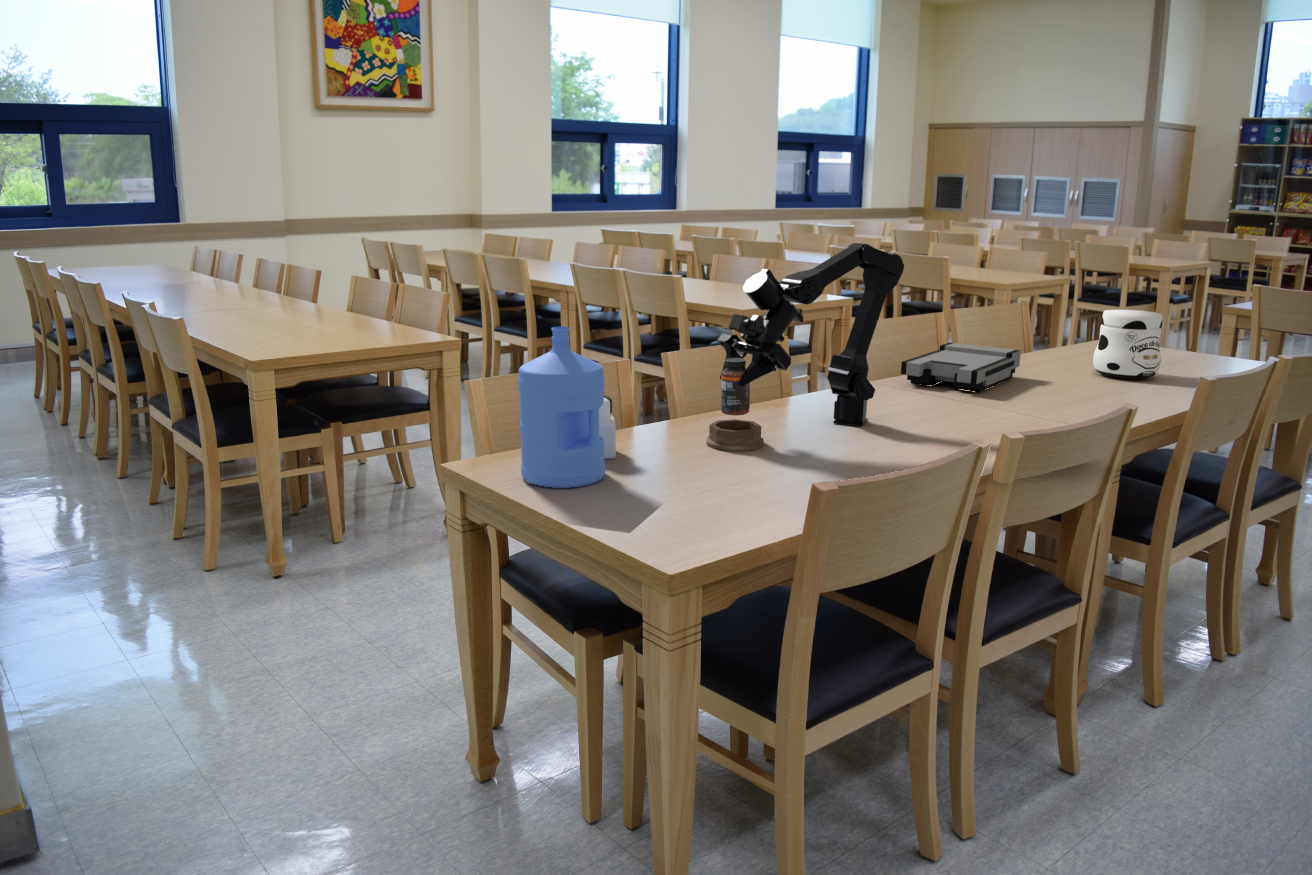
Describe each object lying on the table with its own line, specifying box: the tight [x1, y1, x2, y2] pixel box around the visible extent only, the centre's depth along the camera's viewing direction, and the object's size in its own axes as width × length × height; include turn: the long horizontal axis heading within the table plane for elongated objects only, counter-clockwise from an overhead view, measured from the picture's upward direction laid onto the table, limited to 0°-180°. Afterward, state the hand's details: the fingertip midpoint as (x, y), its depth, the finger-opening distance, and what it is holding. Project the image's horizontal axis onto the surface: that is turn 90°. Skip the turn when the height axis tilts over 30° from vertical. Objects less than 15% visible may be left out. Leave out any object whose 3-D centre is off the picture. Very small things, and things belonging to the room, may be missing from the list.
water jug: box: [517, 326, 606, 489], centre depth 178 cm, size 16×16×28 cm
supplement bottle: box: [720, 358, 751, 416], centre depth 201 cm, size 6×6×11 cm
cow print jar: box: [1092, 309, 1163, 380], centre depth 274 cm, size 17×17×18 cm
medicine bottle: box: [599, 395, 617, 460], centre depth 194 cm, size 7×7×12 cm
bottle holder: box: [706, 418, 765, 453], centre depth 204 cm, size 12×12×4 cm
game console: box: [900, 342, 1022, 393], centre depth 266 cm, size 21×32×8 cm, turn 141°
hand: (730, 382), depth 200 cm, fingers closed on supplement bottle, 6 cm apart
